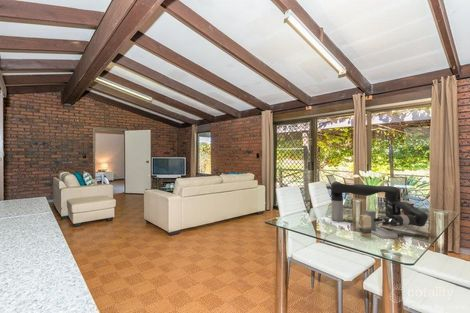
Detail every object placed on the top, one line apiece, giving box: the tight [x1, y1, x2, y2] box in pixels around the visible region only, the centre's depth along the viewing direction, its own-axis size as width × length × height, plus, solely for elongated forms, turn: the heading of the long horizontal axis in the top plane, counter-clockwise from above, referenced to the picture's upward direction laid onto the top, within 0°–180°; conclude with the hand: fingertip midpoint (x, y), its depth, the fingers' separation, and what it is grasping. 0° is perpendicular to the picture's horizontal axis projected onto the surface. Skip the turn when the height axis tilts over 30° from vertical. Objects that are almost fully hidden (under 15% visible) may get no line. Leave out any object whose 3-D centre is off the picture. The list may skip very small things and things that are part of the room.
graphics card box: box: [384, 188, 402, 218], centre depth 221 cm, size 17×7×27 cm, turn 168°
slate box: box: [364, 209, 377, 230], centre depth 187 cm, size 5×5×14 cm
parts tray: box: [357, 224, 399, 240], centre depth 180 cm, size 26×12×3 cm, turn 7°
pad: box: [351, 231, 381, 242], centre depth 172 cm, size 16×11×1 cm
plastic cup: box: [400, 199, 416, 215], centre depth 232 cm, size 11×11×12 cm
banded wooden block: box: [359, 214, 372, 238], centre depth 172 cm, size 5×5×14 cm
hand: (378, 221), depth 173 cm, fingers open, 8 cm apart
